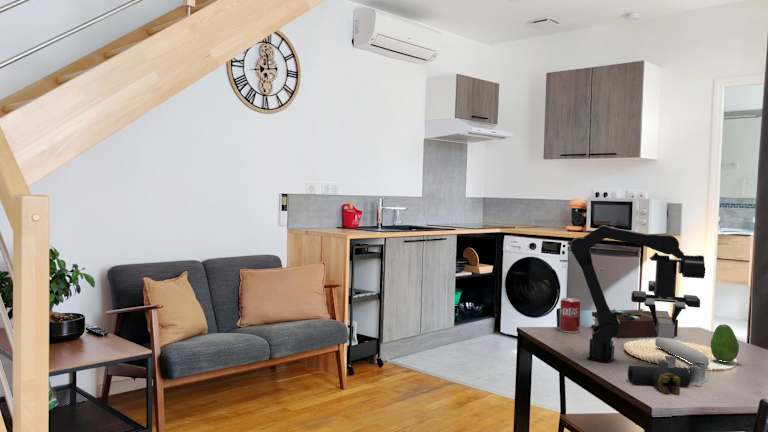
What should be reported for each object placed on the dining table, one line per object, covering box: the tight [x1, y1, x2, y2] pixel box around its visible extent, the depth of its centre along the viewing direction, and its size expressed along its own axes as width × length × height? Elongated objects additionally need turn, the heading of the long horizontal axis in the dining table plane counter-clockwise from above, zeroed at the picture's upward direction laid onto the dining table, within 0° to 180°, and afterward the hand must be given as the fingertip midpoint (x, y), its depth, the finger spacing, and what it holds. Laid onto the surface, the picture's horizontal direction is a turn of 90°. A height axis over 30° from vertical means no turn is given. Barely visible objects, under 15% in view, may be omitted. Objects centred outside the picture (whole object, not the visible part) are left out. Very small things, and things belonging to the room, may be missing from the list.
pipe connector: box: [627, 365, 690, 395], centre depth 168 cm, size 12×5×15 cm
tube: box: [654, 337, 710, 368], centre depth 199 cm, size 5×5×25 cm
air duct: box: [653, 310, 675, 339], centre depth 189 cm, size 22×4×4 cm, turn 160°
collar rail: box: [658, 355, 707, 387], centre depth 176 cm, size 11×8×5 cm
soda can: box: [559, 297, 582, 334], centre depth 234 cm, size 7×7×12 cm
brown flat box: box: [590, 310, 679, 339], centre depth 236 cm, size 19×8×30 cm
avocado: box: [710, 324, 740, 362], centre depth 196 cm, size 8×8×12 cm
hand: (663, 327), depth 189 cm, fingers closed on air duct, 4 cm apart
